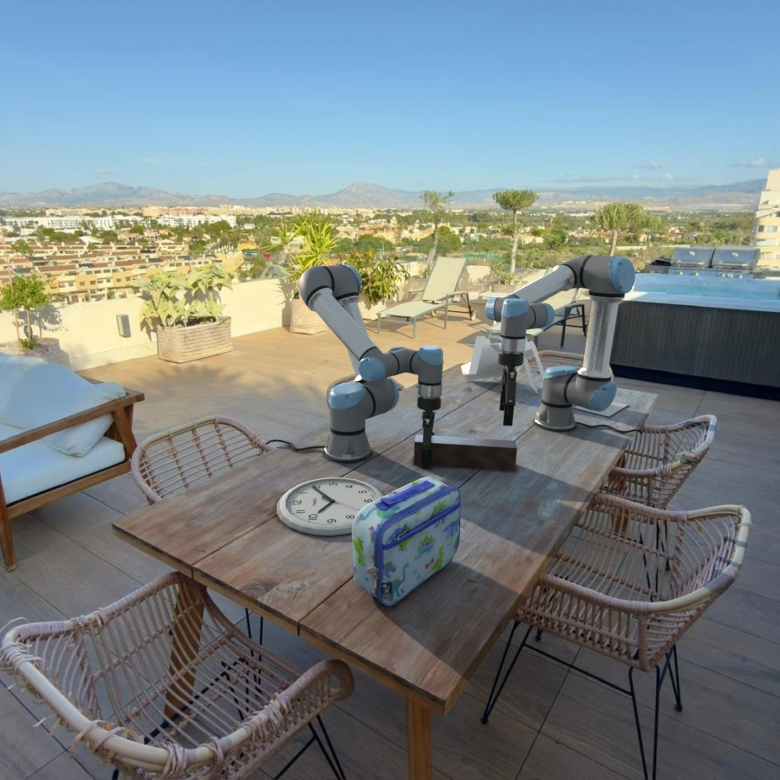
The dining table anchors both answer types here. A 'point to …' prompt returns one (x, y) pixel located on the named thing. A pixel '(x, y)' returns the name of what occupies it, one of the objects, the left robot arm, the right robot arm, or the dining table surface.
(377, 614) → the dining table surface
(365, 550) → the lunch box
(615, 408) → the invitation card
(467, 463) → the walnut beam
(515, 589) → the dining table surface
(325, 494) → the wall clock
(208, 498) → the dining table surface
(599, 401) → the right robot arm
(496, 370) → the white plastic object
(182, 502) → the dining table surface
